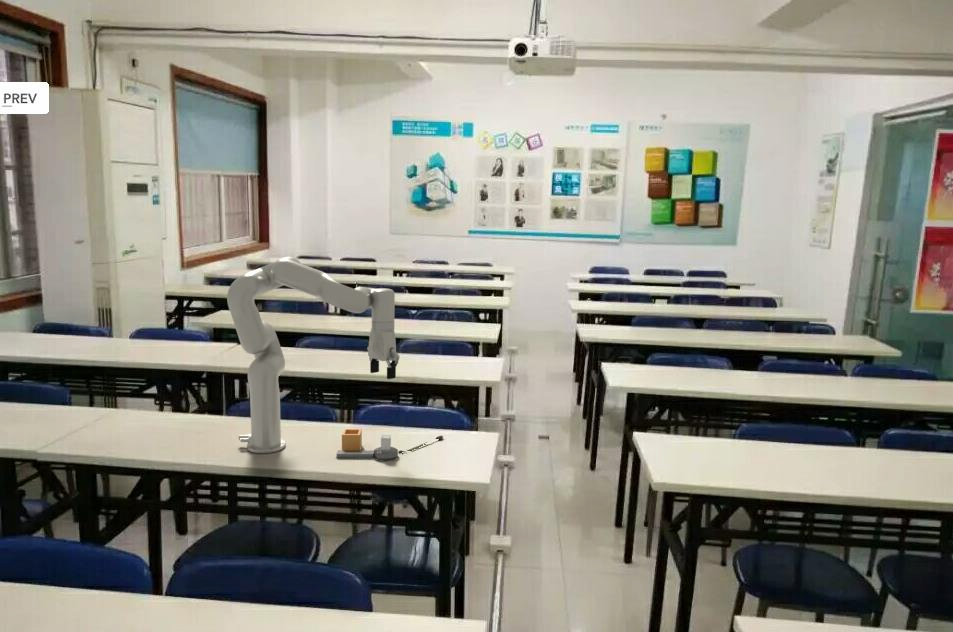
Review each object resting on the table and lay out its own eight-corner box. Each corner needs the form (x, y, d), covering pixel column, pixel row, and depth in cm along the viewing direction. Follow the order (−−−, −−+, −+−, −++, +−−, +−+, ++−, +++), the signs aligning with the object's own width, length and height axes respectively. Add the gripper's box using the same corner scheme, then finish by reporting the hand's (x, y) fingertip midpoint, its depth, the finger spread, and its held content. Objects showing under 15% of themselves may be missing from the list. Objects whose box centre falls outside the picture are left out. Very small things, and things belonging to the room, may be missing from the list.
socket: (341, 451, 225) (341, 434, 224) (344, 445, 231) (344, 428, 230) (359, 451, 226) (359, 434, 225) (361, 445, 232) (361, 428, 231)
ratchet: (335, 460, 217) (335, 440, 216) (338, 451, 225) (338, 432, 224) (397, 461, 219) (397, 440, 217) (398, 452, 226) (398, 432, 225)
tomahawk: (411, 460, 222) (411, 457, 222) (397, 454, 226) (397, 451, 226) (453, 443, 238) (453, 440, 238) (439, 437, 242) (440, 434, 242)
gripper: (359, 322, 226) (359, 371, 229) (388, 331, 214) (388, 382, 217) (377, 320, 231) (377, 368, 234) (407, 328, 219) (407, 379, 222)
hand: (382, 375), depth 225 cm, fingers open, 9 cm apart
